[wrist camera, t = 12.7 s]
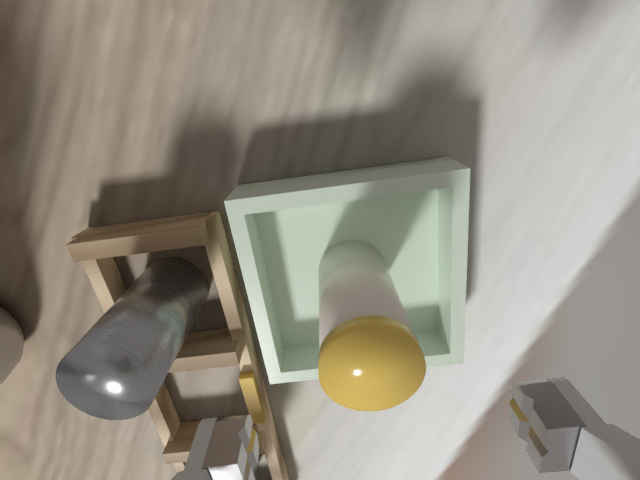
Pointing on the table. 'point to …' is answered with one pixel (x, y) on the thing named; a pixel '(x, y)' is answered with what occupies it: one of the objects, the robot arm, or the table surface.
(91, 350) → the canister
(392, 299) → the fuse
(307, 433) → the table surface
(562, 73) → the table surface
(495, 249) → the table surface
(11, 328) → the plastic bottle
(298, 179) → the tray
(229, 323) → the rack
